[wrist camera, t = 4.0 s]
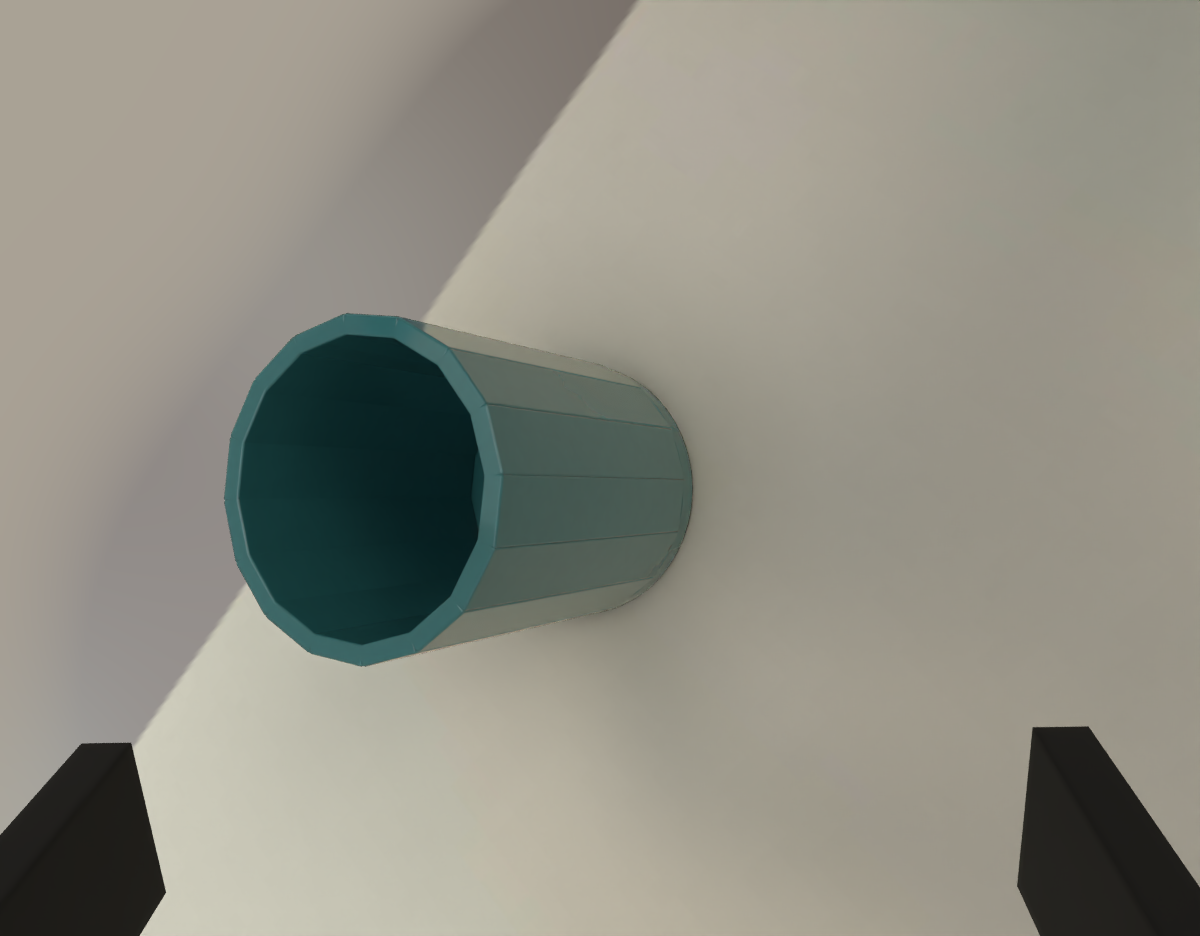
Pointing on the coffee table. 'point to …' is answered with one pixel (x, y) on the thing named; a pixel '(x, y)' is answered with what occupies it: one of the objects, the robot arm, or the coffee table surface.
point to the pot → (445, 488)
